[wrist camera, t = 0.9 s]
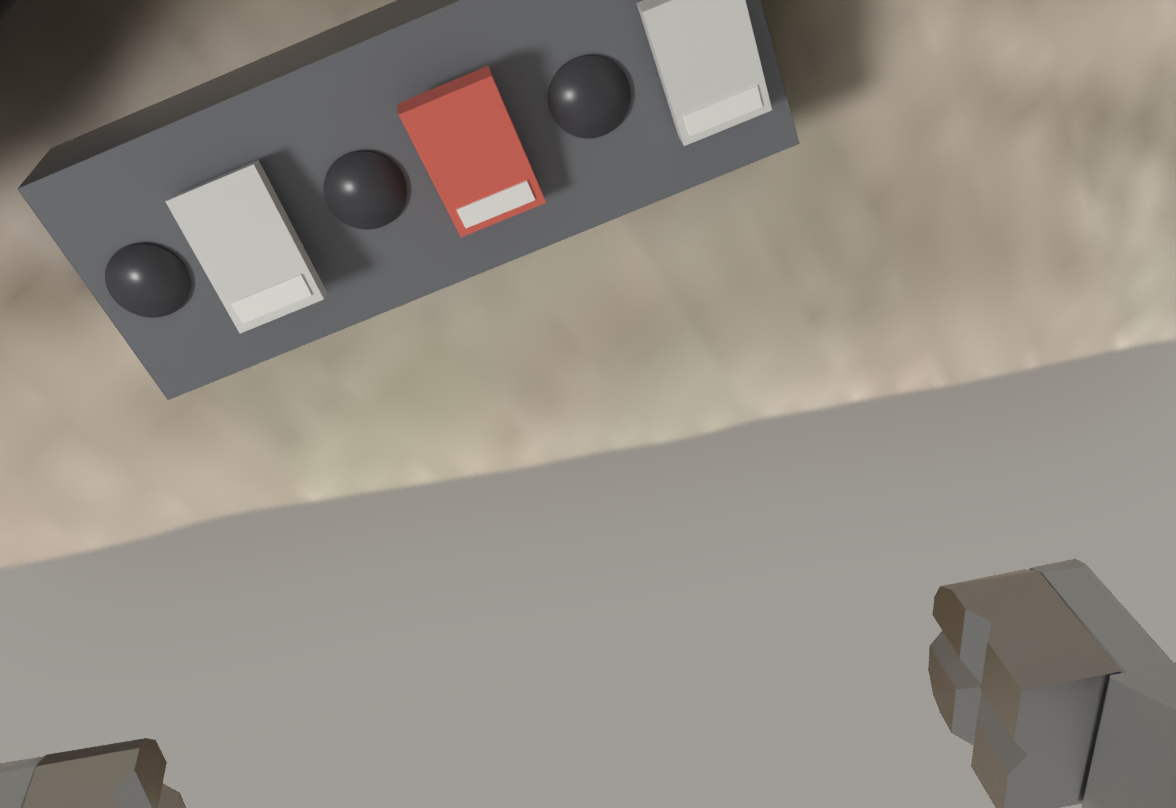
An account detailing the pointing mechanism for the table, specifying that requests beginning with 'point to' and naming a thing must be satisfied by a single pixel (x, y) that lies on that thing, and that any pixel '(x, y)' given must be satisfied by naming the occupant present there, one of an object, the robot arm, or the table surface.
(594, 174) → the strip housing
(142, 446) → the table surface
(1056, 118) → the table surface
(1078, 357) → the table surface
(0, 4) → the muzzle brake
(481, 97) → the rocker middle
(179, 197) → the rocker
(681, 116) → the rocker
